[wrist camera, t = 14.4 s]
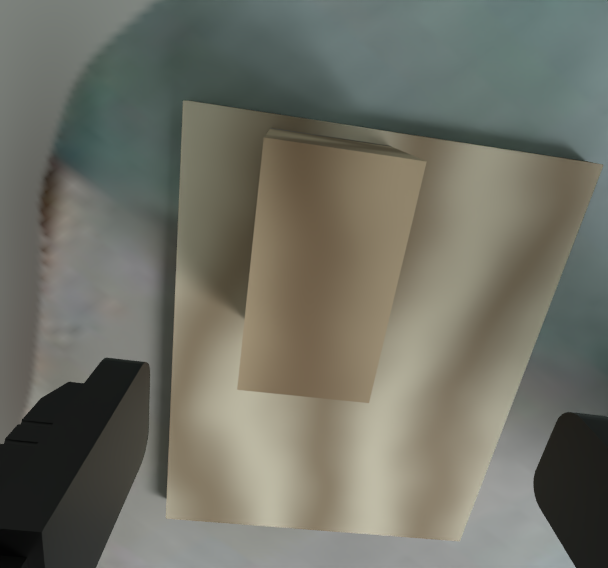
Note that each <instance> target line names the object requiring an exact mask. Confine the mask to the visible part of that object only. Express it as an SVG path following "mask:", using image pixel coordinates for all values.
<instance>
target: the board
mask: <svg viewBox="0 0 608 568" xmlns="http://www.w3.org/2000/svg"><path fill="white" fill-rule="evenodd" d="M270 128H276V129H282V130H289V131H296V132H302V133H309V134H316V135H322V136H329V137H336V138H342V139H349V140H356V141H362V142H369V143H376V144H382V145H389V146H392V147H394V148H396V149H399V150H401V151H403V152H406V153H408V154H410V155H413V156H415V157H417V158H420V159H422V160H424V161H427V162H426V167H425V171H424V175H423V179H422V183H421V188H420V192H419V196H418V200H417V204H416V208H415V213H414V217H413V221H412V225H411V229H410V234H409V238H408V242H407V246H406V250H405V255H404V259H403V263H402V267H401V271H400V275H399V280H398V284H397V288H396V292H395V296H394V301H393V305H392V309H391V313H390V317H389V322H388V326H387V330H386V334H385V338H384V342H383V347H382V351H381V355H380V359H379V363H378V368H377V372H376V376H375V380H374V384H373V388H372V393H371V397H370V401H369V403H362V402H352V401H342V400H332V399H323V398H313V397H303V396H293V395H283V394H274V393H264V392H254V391H244V390H237V386H238V376H239V367H240V358H241V348H242V339H243V329H244V320H245V310H246V301H247V292H248V282H249V273H250V263H251V254H252V244H253V235H254V225H255V216H256V207H257V197H258V188H259V178H260V169H261V159H262V150H263V141H264V136H265V135H266V134H267V132H268V131H269V130H270ZM602 168H603V165H602V164H597V163H592V162H587V161H581V160H574V159H567V158H561V157H554V156H548V155H541V154H535V153H528V152H522V151H515V150H509V149H502V148H496V147H489V146H483V145H476V144H470V143H463V142H456V141H450V140H443V139H437V138H430V137H424V136H417V135H411V134H404V133H398V132H391V131H385V130H378V129H372V128H365V127H359V126H352V125H345V124H339V123H332V122H326V121H319V120H313V119H306V118H300V117H293V116H287V115H280V114H274V113H267V112H261V111H254V110H248V109H241V108H235V107H228V106H221V105H215V104H208V103H202V102H195V101H186V100H183V114H182V138H181V163H180V187H179V211H178V236H177V260H176V284H175V309H174V333H173V357H172V381H171V406H170V430H169V454H168V479H167V503H166V519H179V520H192V521H205V522H218V523H231V524H243V525H256V526H269V527H282V528H295V529H308V530H321V531H334V532H346V533H359V534H372V535H385V536H398V537H411V538H424V539H437V540H449V541H460V540H461V537H462V534H463V532H464V529H465V526H466V524H467V521H468V519H469V516H470V513H471V511H472V508H473V506H474V503H475V500H476V498H477V495H478V492H479V490H480V487H481V485H482V482H483V479H484V477H485V474H486V471H487V469H488V466H489V464H490V461H491V458H492V456H493V453H494V451H495V448H496V445H497V443H498V440H499V437H500V435H501V432H502V430H503V427H504V424H505V422H506V419H507V417H508V414H509V411H510V409H511V406H512V403H513V401H514V398H515V396H516V393H517V390H518V388H519V385H520V382H521V380H522V377H523V375H524V372H525V369H526V367H527V364H528V362H529V359H530V356H531V354H532V351H533V348H534V346H535V343H536V341H537V338H538V335H539V333H540V330H541V328H542V325H543V322H544V320H545V317H546V314H547V312H548V309H549V307H550V304H551V301H552V299H553V296H554V293H555V291H556V288H557V286H558V283H559V280H560V278H561V275H562V273H563V270H564V267H565V265H566V262H567V259H568V257H569V254H570V252H571V249H572V246H573V244H574V241H575V239H576V236H577V233H578V231H579V228H580V225H581V223H582V220H583V218H584V215H585V212H586V210H587V207H588V204H589V202H590V199H591V197H592V194H593V191H594V189H595V186H596V184H597V181H598V178H599V176H600V173H601V170H602Z"/></svg>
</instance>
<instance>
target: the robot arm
mask: <svg viewBox="0 0 608 568" xmlns="http://www.w3.org/2000/svg"><path fill="white" fill-rule="evenodd" d="M149 394H150V368H149V364H148V363H147V362H140V361H131V360H122V359H114V358H104V359H103V360H102V361H101V362H100V364H99V365H98V366H97V367H96V369H95V370H94V371H93V373H92V374H91V375H90V377H89V378H88V379H87V380H86V382H85V383H75V382H68V383H66V384H64V385H63V386H61V387H59V388H58V389H56V390H54V391H53V392H51V393H49V394H47V395H46V396H44V397H42V398H41V399H40V400H39V401H38V402H37V403H36V405H35V406H34V407H33V408H32V409H31V410H30V411H29V412H28V414H27V415H26V416H25V417H24V418H23V419H22V423H21V425H17V426H16V427H15V428H14V429H13V431H12V432H11V433H10V434H9V435H8V436H7V437H6V439H5V443H4V444H0V568H96V566H97V564H98V561H99V559H100V557H101V555H102V552H103V550H104V548H105V545H106V543H107V541H108V539H109V536H110V534H111V532H112V530H113V527H114V525H115V523H116V520H117V518H118V516H119V514H120V511H121V509H122V507H123V504H124V502H125V500H126V498H127V495H128V493H129V491H130V488H131V486H132V484H133V482H134V479H135V477H136V475H137V473H138V470H139V468H140V466H141V463H142V460H143V457H144V454H145V450H146V445H147V440H148V432H149ZM534 493H535V497H536V501H537V503H538V505H539V507H540V509H541V511H542V512H543V514H544V516H545V517H546V519H547V521H548V522H549V524H550V526H551V527H552V529H553V530H554V532H555V534H556V535H557V537H558V539H559V540H560V542H561V544H562V545H563V547H564V549H565V550H566V552H567V554H568V555H569V557H570V559H571V560H572V562H573V563H574V565H575V567H576V568H608V417H606V416H598V415H589V414H580V413H572V412H567V413H564V414H562V415H561V416H560V417H559V418H558V420H557V422H556V424H555V427H554V429H553V431H552V434H551V436H550V438H549V441H548V443H547V445H546V448H545V450H544V452H543V455H542V457H541V459H540V462H539V464H538V466H537V469H536V471H535V475H534Z"/></svg>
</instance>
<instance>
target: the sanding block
mask: <svg viewBox="0 0 608 568" xmlns="http://www.w3.org/2000/svg"><path fill="white" fill-rule="evenodd" d="M426 162H427V161H424V160H422V159H420V158H417V157H415V156H413V155H410V154H408V153H406V152H403V151H401V150H399V149H396V148H394V147H392V146H389V145H382V144H376V143H369V142H362V141H356V140H349V139H342V138H336V137H329V136H322V135H316V134H309V133H302V132H296V131H289V130H282V129H276V128H270V130H269V131H268V132H267V134H266V135H265V136H264V141H263V150H262V159H261V169H260V178H259V188H258V197H257V207H256V216H255V225H254V235H253V244H252V254H251V263H250V273H249V282H248V292H247V301H246V310H245V320H244V329H243V339H242V348H241V358H240V367H239V376H238V386H237V390H244V391H254V392H264V393H274V394H283V395H293V396H303V397H313V398H323V399H332V400H342V401H352V402H362V403H369V401H370V397H371V393H372V388H373V384H374V380H375V376H376V372H377V368H378V363H379V359H380V355H381V351H382V347H383V342H384V338H385V334H386V330H387V326H388V322H389V317H390V313H391V309H392V305H393V301H394V296H395V292H396V288H397V284H398V280H399V275H400V271H401V267H402V263H403V259H404V255H405V250H406V246H407V242H408V238H409V234H410V229H411V225H412V221H413V217H414V213H415V208H416V204H417V200H418V196H419V192H420V188H421V183H422V179H423V175H424V171H425V167H426Z"/></svg>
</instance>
